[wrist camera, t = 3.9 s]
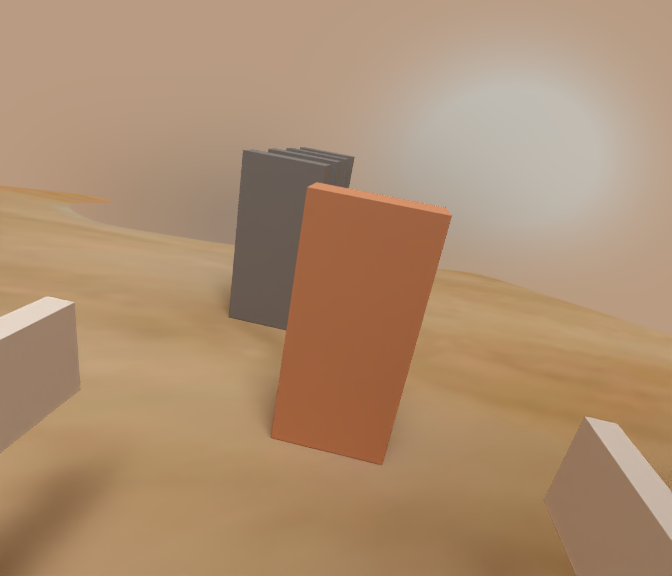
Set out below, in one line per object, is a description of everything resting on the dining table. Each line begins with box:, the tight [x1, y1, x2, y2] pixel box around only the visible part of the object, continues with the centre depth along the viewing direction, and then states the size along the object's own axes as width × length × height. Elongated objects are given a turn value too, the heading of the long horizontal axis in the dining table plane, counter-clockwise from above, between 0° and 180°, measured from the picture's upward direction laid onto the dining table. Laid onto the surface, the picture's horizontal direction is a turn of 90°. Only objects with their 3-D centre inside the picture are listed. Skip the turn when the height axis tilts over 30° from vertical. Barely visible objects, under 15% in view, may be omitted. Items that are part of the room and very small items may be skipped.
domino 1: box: [229, 150, 331, 330], centre depth 26 cm, size 5×2×11 cm, turn 82°
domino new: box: [271, 182, 452, 465], centre depth 16 cm, size 5×2×11 cm, turn 82°
